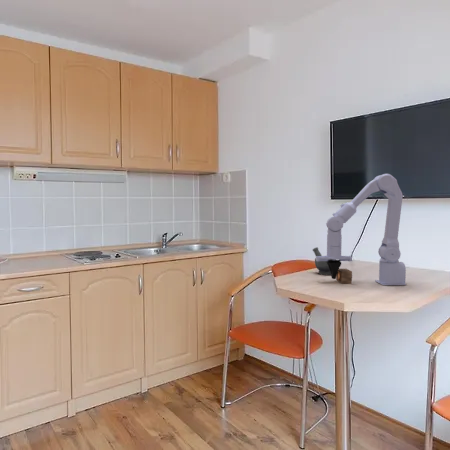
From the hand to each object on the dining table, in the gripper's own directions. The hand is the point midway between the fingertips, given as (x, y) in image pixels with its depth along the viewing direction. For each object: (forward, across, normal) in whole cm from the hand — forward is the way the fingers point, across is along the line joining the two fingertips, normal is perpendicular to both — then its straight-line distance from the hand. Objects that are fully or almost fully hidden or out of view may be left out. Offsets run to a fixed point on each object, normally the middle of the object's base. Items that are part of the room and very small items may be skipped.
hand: (333, 278), depth 162 cm
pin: (+1, -4, 0) cm, 4 cm away
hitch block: (+1, -4, 0) cm, 5 cm away
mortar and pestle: (+2, -1, -20) cm, 20 cm away
